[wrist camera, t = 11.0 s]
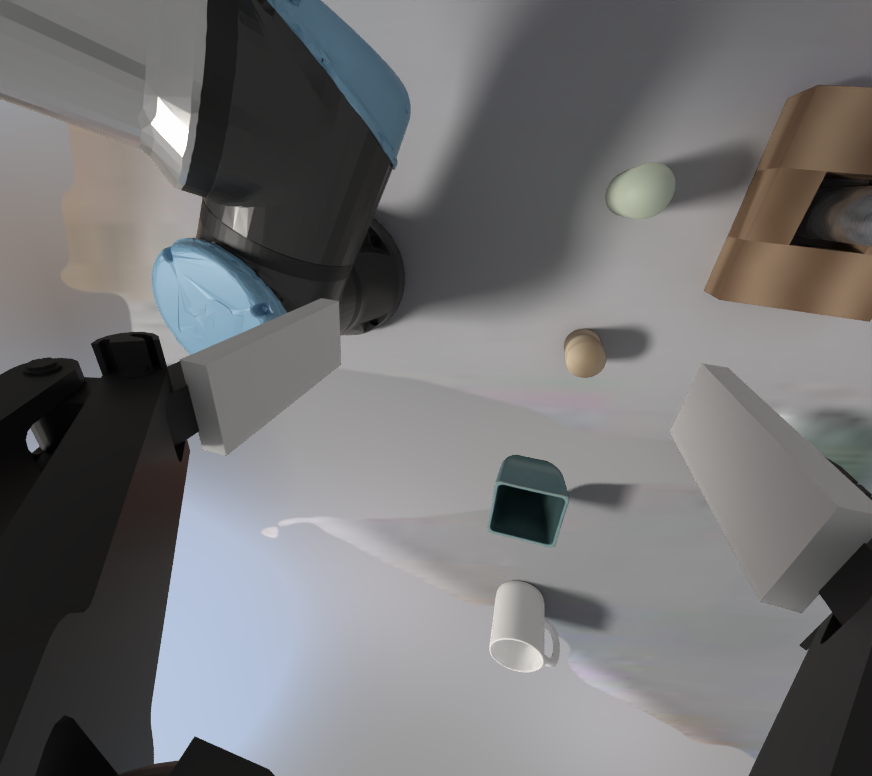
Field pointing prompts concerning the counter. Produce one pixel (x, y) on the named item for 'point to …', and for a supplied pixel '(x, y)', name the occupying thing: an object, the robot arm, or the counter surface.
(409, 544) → the counter surface
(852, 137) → the hole board
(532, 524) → the flower pot
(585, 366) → the short pin
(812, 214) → the long pin
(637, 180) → the medium pin
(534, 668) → the cup
